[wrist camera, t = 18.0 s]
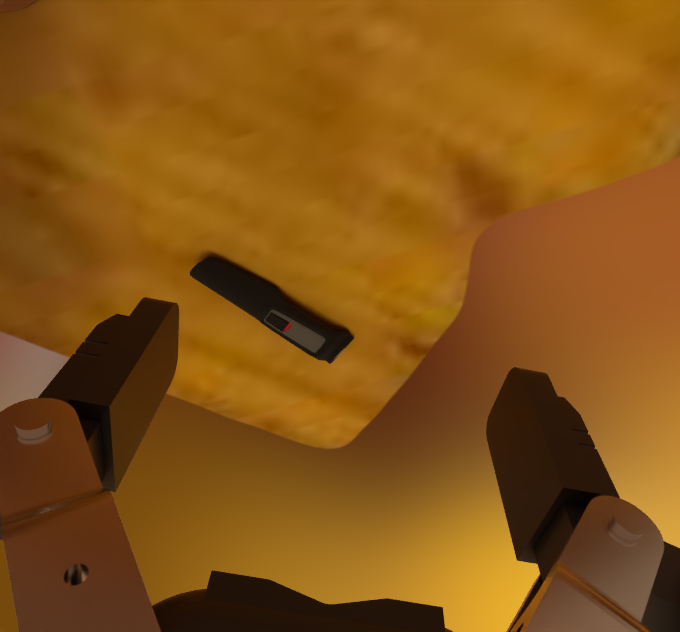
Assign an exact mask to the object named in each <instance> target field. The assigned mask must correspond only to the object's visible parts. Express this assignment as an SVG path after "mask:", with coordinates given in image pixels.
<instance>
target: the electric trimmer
mask: <svg viewBox="0 0 680 632" xmlns="http://www.w3.org/2000/svg"><path fill="white" fill-rule="evenodd" d="M190 275H191V276H192V277H193V278H194V279H196V280H198V281H199V282H201V283H202V284H204V285H205V286H207V287H208V288H210V289H211V290H213V291H215V292H216V293H218V294H219V295H221V296H222V297H224V298H225V299H227V300H229V301H230V302H232V303H233V304H235V305H236V306H238V307H239V308H241V309H242V310H244V311H245V312H247V313H249V314H250V315H252V316H253V317H255V318H256V319H258V320H259V321H260V322H261V323H262V324H264V325H265V326H266V327H268V328H269V329H271V330H272V331H274V332H275V333H277V334H278V335H280V336H281V337H283V338H284V339H286V340H287V341H289V342H290V343H292V344H294V345H295V346H297V347H298V348H300V349H301V350H303V351H304V352H306V353H307V354H309V355H311V356H313V357H314V358H316V359H318V360H324V361H327V362H328V363H329V364H331V363H332V362H333V361H334V360H335V359H336V358H337V356H338V355H339V354H340V353H341V352H342V351H343V350H344V349H345V348H346V346H347V345H348V344H349V343H350V342H351V341H352V340H353V339H354V338H353V337H352V336H350V335H349V331H347V330H344V331H335V330H333V329H331V328H330V327H328V326H326V325H325V324H323V323H321V322H320V321H318V320H316V319H315V318H313V317H312V316H310V315H308V314H307V313H305V312H303V311H302V310H300V309H298V308H297V307H295V306H293V305H292V304H290V303H288V302H287V301H285V300H284V298H283V297H282V296H281V294H280V292H279V291H278V289H277V288H276V287H275V286H273V285H271V284H269V283H267V282H265V281H263V280H261V279H259V278H257V277H255V276H253V275H251V274H248V273H246V272H244V271H242V270H240V269H238V268H236V267H234V266H231V265H229V264H227V263H225V262H223V261H221V260H219V259H217V258H214V257H208V258H206V259H204V260H203V261H201V262H200V263H198V264H197V265H196V266H195V267H194V268H193V269H192V270H191V271H190Z"/></svg>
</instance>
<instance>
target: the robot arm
mask: <svg viewBox="0 0 680 632" xmlns="http://www.w3.org/2000/svg"><path fill="white" fill-rule="evenodd" d="M35 1H36V0H0V12H9V11H16V10H19V9H22V8H26V7H27V6H29V5H30V4H32V3H33V2H35ZM178 331H179V307H178V304H177V303H173V302H168V301H162V300H157V299H152V298H146V297H145V298H143V299H142V300H141V301H140V302H139V304H138V305H137V306H136V308H135V309H134V311H133V312H132V313H131V315H130V316H125V315H120V314H116V315H114V316H112V317H110V318H108V319H107V320H105V321H103V322H101V323H100V324H98V325H97V326H96V327H95V328H94V329H93V331H92V332H91V333H90V334H89V336H88V337H87V338H86V339H85V342H83V343H82V344H81V345H80V347H79V348H78V349H77V350H76V353H75V354H73V355H72V356H71V358H70V359H69V360H68V361H67V363H66V364H65V365H64V366H63V368H62V369H61V370H60V371H59V373H58V374H57V375H56V376H55V377H54V379H53V380H52V381H51V382H50V384H49V385H48V386H47V388H46V389H45V390H44V391H43V392H42V394H41V395H40V396H39V397H38V398H34V399H29V400H25V401H21V402H18V403H16V404H13V405H11V406H9V407H7V408H6V409H4V410H3V411H1V412H0V540H1V539H3V542H4V548H5V554H6V560H7V565H8V571H9V577H10V583H11V589H12V594H13V600H14V606H15V612H16V617H17V623H18V629H19V632H452V631H451V630H448V629H447V628H445V625H444V615H443V608H442V607H437V606H430V605H425V604H418V603H412V602H406V601H400V600H393V599H378V600H369V601H360V602H351V603H342V604H324V603H321V602H319V601H317V600H315V599H312V598H310V597H308V596H305V595H303V594H301V593H299V592H296V591H294V590H291V589H290V588H287V587H285V586H283V585H280V584H278V583H276V582H274V581H271V580H268V579H262V578H256V577H250V576H244V575H237V574H231V573H225V572H219V571H212V572H211V575H210V579H209V582H208V586H207V589H201V590H194V591H190V592H185V593H181V594H178V595H176V596H173V597H170V598H167V599H165V600H163V601H161V602H159V603H156V604H155V605H151V602H150V599H149V596H148V594H147V591H146V588H145V585H144V582H143V580H142V577H141V574H140V571H139V569H138V566H137V563H136V560H135V557H134V555H133V552H132V549H131V547H130V544H129V541H128V538H127V535H126V532H125V530H124V527H123V524H122V522H121V519H120V516H119V513H118V510H117V507H116V505H115V502H114V499H113V497H112V494H111V492H110V491H113V492H116V490H117V488H118V486H119V484H120V482H121V480H122V478H123V476H124V474H125V472H126V470H127V468H128V466H129V464H130V462H131V460H132V458H133V456H134V454H135V452H136V450H137V449H138V447H139V445H140V443H141V441H142V439H143V437H144V435H145V433H146V431H147V429H148V427H149V425H150V423H151V421H152V419H153V417H154V415H155V413H156V411H157V409H158V407H159V405H160V403H161V401H162V399H163V397H164V396H165V394H166V392H167V390H168V388H169V386H170V384H171V382H172V379H173V377H174V374H175V370H176V366H177V359H178ZM486 435H487V441H488V445H489V449H490V453H491V457H492V461H493V465H494V469H495V474H496V478H497V481H498V486H499V490H500V494H501V498H502V502H503V505H504V509H505V513H506V518H507V521H508V526H509V530H510V534H511V538H512V542H513V546H514V550H515V554H516V558H517V560H518V561H524V562H530V563H536V564H538V567H539V570H540V575H539V576H538V578H537V579H536V581H535V582H534V584H533V585H532V587H531V589H530V591H529V593H528V594H527V596H526V598H525V600H524V602H523V603H522V605H521V607H520V609H519V610H518V612H517V614H516V616H515V618H514V620H513V621H512V623H511V625H510V626H509V628H508V630H507V632H680V548H678V547H675V546H673V545H671V544H668V543H666V542H664V541H663V538H662V535H661V533H660V531H659V530H658V528H657V526H656V525H655V524H654V523H653V521H652V520H651V519H650V518H649V517H648V516H647V515H646V514H645V513H643V512H642V511H641V510H640V509H638V508H637V507H636V506H634V505H632V504H631V503H629V502H627V501H625V500H623V499H620V497H619V495H618V493H617V491H616V489H615V487H614V484H613V482H612V480H611V478H610V476H609V474H608V472H607V470H606V468H605V466H604V464H603V462H602V459H601V457H600V455H599V453H598V451H597V449H595V445H594V443H593V441H592V438H591V436H590V435H588V430H587V428H586V426H585V424H584V422H583V420H582V418H581V415H580V414H579V413H578V412H577V411H576V410H575V409H574V408H573V406H572V405H571V404H570V403H569V402H568V401H567V400H566V399H565V398H563V397H558V396H557V394H556V392H555V390H554V388H553V386H552V383H551V381H550V379H549V377H548V375H547V374H546V373H543V372H537V371H532V370H527V369H520V368H516V367H514V368H512V369H511V370H510V371H509V373H508V375H507V377H506V379H505V381H504V384H503V386H502V388H501V390H500V392H499V394H498V397H497V399H496V401H495V403H494V405H493V407H492V409H491V412H490V414H489V417H488V421H487V429H486Z"/></svg>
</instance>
